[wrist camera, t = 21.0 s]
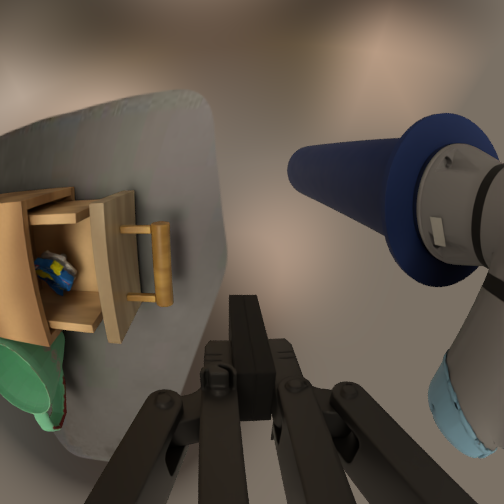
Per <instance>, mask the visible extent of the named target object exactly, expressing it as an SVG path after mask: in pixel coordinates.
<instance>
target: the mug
mask: <svg viewBox="0 0 504 504" xmlns="http://www.w3.org/2000/svg"><path fill="white" fill-rule="evenodd" d="M64 345H65V337H64V334H63V332H62V331H61V333H60V334H59V335H58V336H57V338H56V339H55V340H54V342H53V343H52V345H51V346H50V347H47V346H41V345H36V344H30V343H25V342H20V341H15V340H10V339H6V338H1V337H0V394H1V395H2V396H3V397H4V398H5V399H7V400H8V401H9V402H10V403H12V404H13V405H15V406H16V407H18V408H19V409H21V410H23V411H26V412H29V413H32V414H34V416H35V418H36V420H37V422H38V423H39V425H40V426H41V428H42V429H43V430H45V431H57V430H60V429H61V428H62V425H63V422H64V419H65V416H66V413H67V410H66V383H65V378H64V373H63V369H62V363H63V356H64ZM51 404H52V412H51V415H50V417H49V415H48V413H47V412H48V410H49V408H50V406H51Z"/></svg>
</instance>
